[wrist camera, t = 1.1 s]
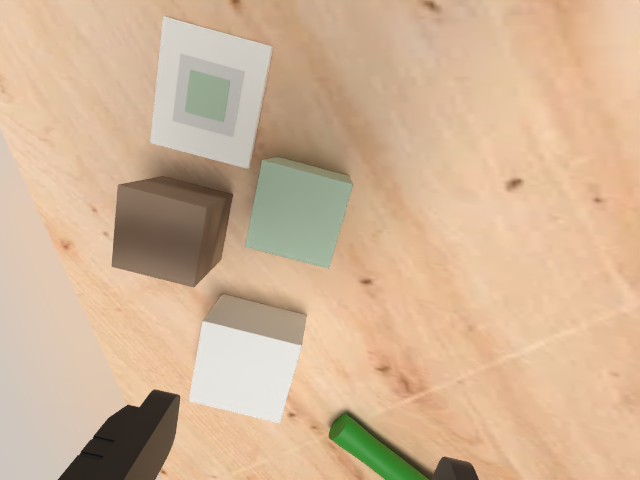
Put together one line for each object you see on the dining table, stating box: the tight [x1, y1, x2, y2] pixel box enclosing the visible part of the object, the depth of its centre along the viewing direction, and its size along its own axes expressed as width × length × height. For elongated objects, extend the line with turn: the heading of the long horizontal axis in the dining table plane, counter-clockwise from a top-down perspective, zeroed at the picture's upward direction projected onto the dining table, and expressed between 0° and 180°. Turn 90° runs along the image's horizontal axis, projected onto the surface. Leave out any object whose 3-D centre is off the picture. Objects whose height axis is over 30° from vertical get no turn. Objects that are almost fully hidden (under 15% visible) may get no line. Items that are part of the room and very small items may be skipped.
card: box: [150, 16, 273, 169], centre depth 25 cm, size 9×8×1 cm
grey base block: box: [189, 294, 307, 423], centre depth 29 cm, size 8×8×5 cm
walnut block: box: [112, 176, 233, 287], centre depth 26 cm, size 6×6×6 cm
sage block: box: [245, 157, 353, 269], centre depth 25 cm, size 6×6×6 cm
